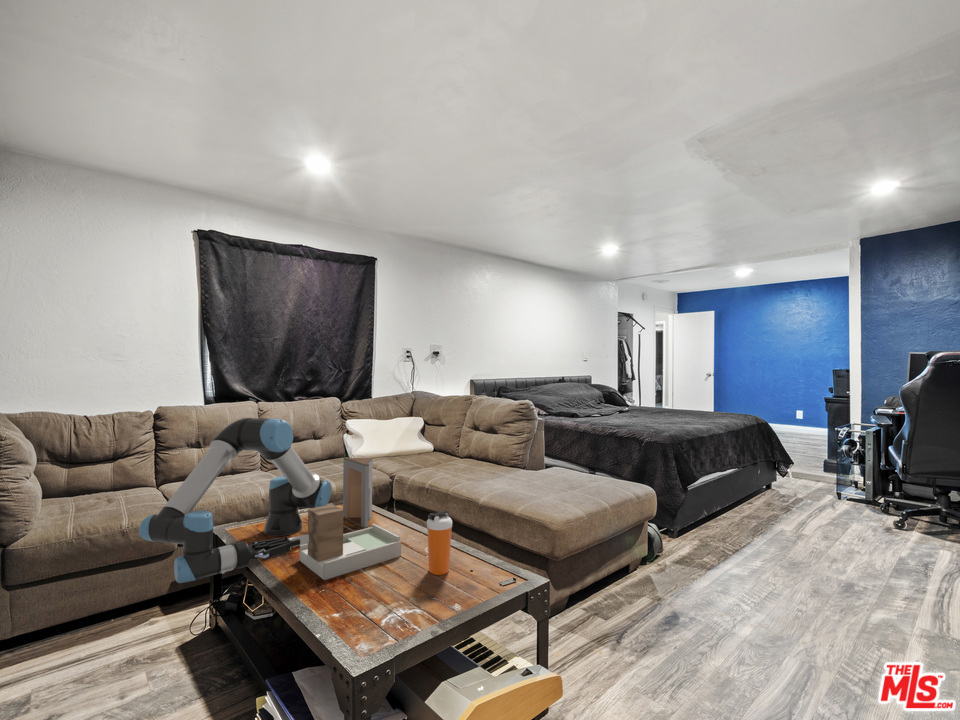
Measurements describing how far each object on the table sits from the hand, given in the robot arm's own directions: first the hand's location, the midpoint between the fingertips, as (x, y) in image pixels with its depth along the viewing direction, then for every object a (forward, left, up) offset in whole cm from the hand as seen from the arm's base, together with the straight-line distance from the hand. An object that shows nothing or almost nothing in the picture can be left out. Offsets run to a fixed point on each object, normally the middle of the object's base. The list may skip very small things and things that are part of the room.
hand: (307, 538), depth 162 cm
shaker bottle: (+30, +35, -12) cm, 47 cm away
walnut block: (0, +7, -7) cm, 10 cm away
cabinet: (-35, +41, -12) cm, 55 cm away
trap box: (0, +17, -11) cm, 20 cm away
